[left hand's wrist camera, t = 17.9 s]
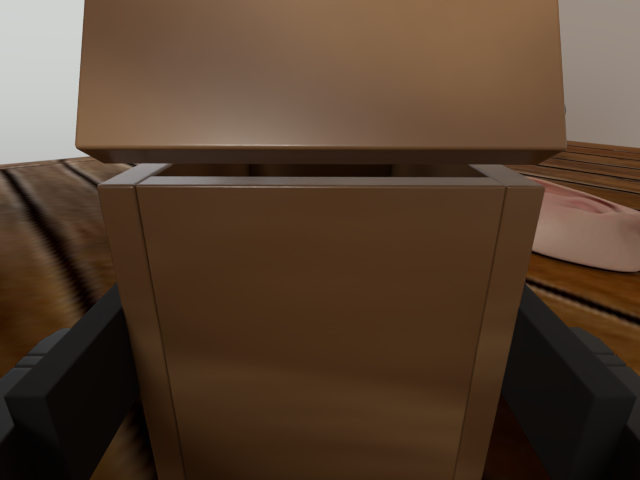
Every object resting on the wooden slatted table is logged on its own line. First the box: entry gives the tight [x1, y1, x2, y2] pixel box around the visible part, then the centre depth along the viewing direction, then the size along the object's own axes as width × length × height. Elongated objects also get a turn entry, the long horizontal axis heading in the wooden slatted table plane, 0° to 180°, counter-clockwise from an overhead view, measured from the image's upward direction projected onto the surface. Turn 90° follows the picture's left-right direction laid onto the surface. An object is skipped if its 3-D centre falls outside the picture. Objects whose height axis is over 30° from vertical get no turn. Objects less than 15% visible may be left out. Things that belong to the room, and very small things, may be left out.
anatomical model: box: [527, 177, 640, 272], centre depth 35 cm, size 13×4×12 cm
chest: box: [97, 163, 545, 480], centre depth 18 cm, size 16×10×11 cm, turn 0°
